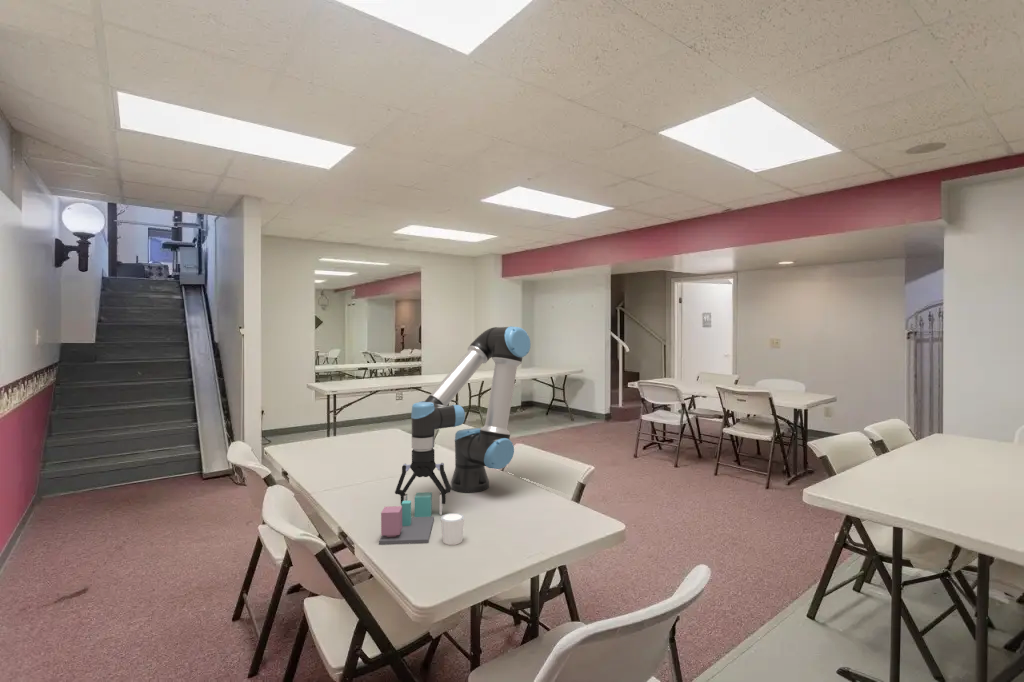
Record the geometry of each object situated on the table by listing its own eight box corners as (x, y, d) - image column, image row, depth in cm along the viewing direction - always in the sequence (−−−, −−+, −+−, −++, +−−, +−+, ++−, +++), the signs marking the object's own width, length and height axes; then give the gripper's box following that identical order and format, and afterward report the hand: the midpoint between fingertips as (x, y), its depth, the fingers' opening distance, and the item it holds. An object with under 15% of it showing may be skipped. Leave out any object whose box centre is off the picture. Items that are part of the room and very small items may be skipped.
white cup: (453, 534, 144) (452, 510, 144) (469, 540, 140) (469, 516, 140) (435, 541, 139) (435, 517, 139) (452, 548, 135) (452, 523, 135)
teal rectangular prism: (432, 511, 164) (431, 492, 164) (430, 517, 158) (430, 497, 158) (416, 511, 163) (416, 492, 163) (414, 517, 158) (414, 497, 158)
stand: (434, 519, 156) (433, 493, 156) (428, 542, 138) (427, 513, 138) (390, 520, 155) (390, 494, 155) (378, 544, 137) (378, 514, 137)
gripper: (458, 445, 165) (458, 509, 165) (389, 446, 164) (390, 510, 164) (457, 450, 158) (457, 517, 158) (385, 452, 156) (385, 519, 156)
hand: (423, 513), depth 161 cm, fingers open, 11 cm apart
